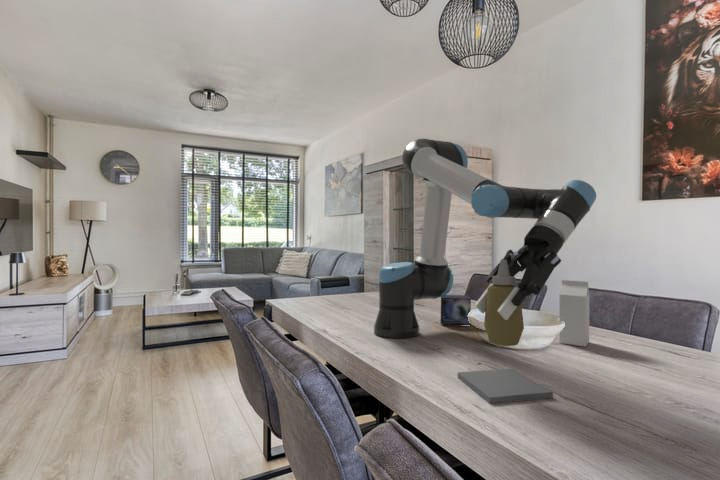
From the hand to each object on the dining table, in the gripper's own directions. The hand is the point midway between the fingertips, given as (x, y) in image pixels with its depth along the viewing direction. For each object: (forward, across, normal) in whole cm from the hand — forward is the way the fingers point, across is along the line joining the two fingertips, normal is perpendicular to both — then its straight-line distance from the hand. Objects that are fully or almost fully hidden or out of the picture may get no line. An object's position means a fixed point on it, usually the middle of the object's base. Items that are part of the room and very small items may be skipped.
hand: (490, 312), depth 82 cm
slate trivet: (+9, 0, -14) cm, 17 cm away
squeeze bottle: (+3, 0, -8) cm, 8 cm away
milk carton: (-22, +20, -46) cm, 55 cm away
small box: (-9, +54, -32) cm, 63 cm away
